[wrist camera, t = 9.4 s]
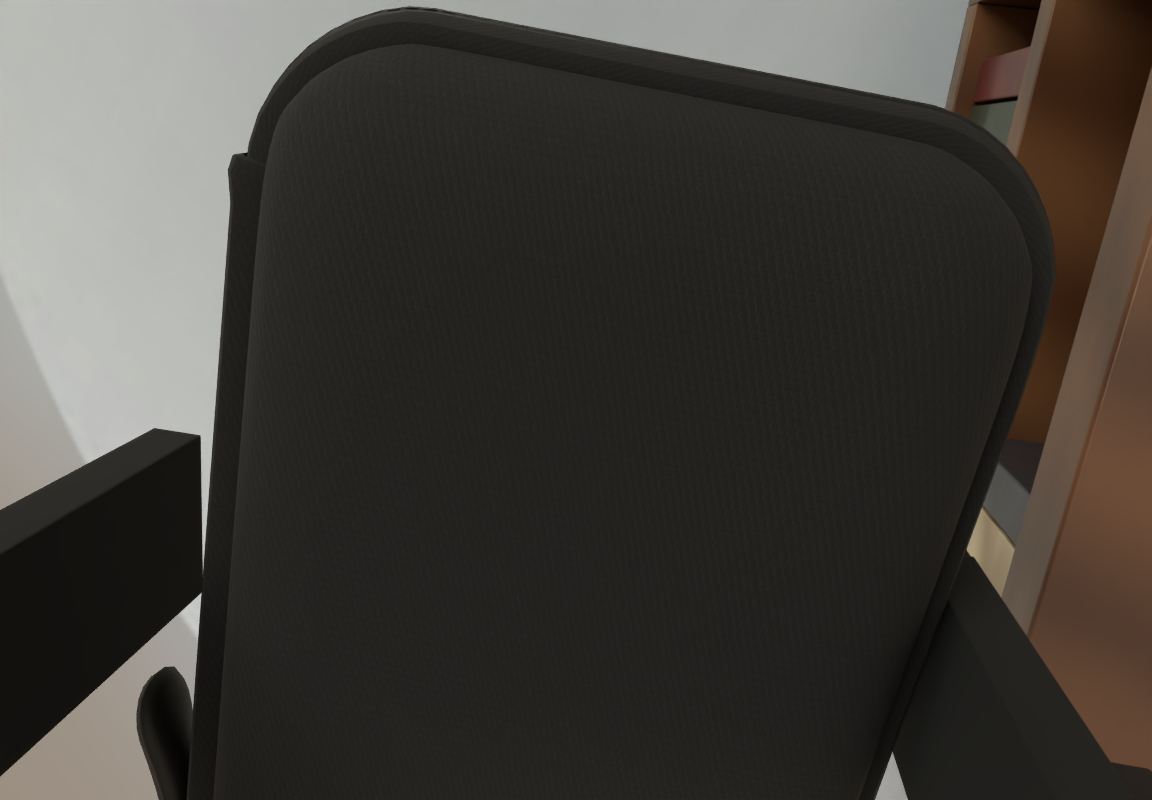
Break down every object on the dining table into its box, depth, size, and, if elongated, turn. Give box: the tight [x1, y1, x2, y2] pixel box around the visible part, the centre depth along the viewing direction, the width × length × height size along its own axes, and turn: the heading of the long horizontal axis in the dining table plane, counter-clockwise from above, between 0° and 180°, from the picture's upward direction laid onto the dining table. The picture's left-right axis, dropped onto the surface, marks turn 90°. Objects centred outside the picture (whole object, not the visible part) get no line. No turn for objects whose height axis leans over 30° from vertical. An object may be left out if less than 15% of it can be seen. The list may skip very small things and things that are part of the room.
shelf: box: [945, 0, 1152, 771], centre depth 24 cm, size 20×9×16 cm, turn 174°
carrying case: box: [137, 6, 1056, 800], centre depth 12 cm, size 11×3×15 cm
